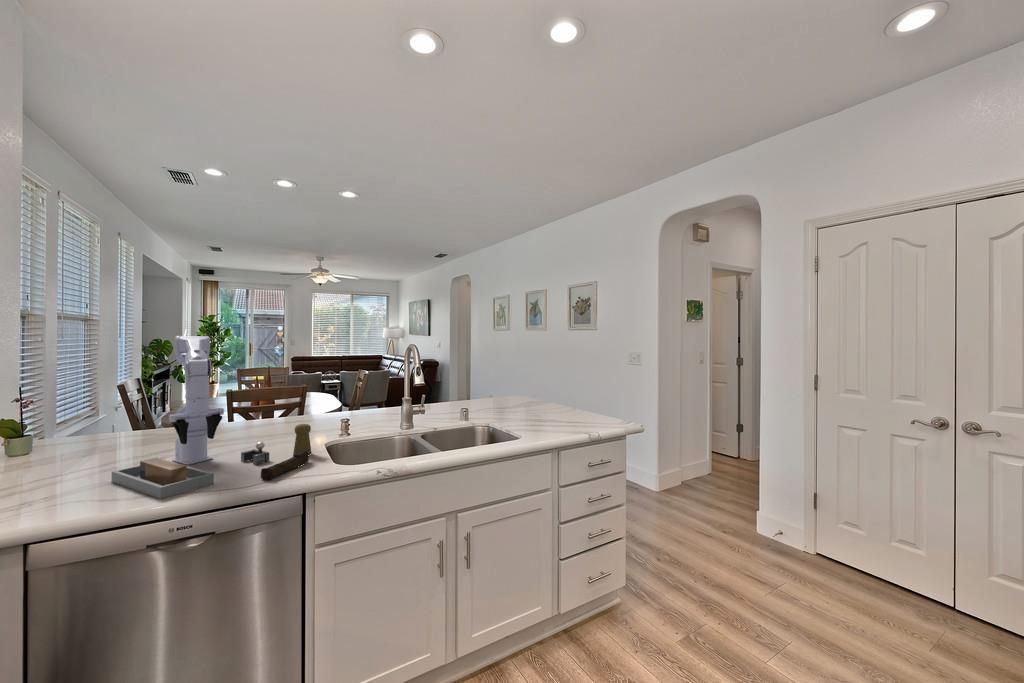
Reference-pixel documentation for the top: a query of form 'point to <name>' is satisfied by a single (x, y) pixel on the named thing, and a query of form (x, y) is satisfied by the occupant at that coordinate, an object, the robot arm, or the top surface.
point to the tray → (133, 481)
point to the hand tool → (285, 466)
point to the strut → (162, 471)
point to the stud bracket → (256, 454)
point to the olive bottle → (302, 439)
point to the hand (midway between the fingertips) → (197, 440)
